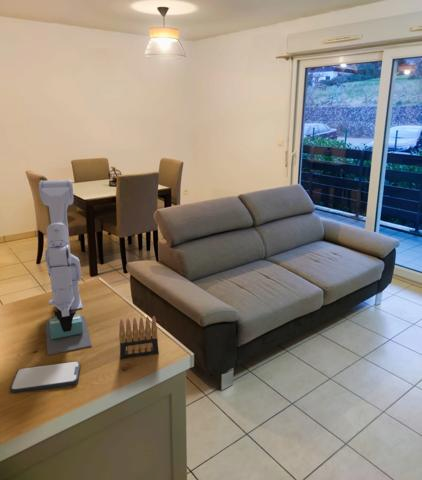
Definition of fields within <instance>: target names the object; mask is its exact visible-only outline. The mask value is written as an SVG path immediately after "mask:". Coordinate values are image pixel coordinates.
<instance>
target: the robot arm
mask: <svg viewBox="0 0 422 480" xmlns="http://www.w3.org/2000/svg"><path fill="white" fill-rule="evenodd" d="M38 192H39V198H40V200H41V202H42V203H43V206H47V207H48V210H49V217H50V218H49V219H50V224H49V225H48V226H47V228H46V245H47V247H46V249H45V252H44V256H45V257H44V258H45V263H46V267H47V272H48V274H49V279H50V287H51V293H52V294H51V295H52V296H51V297H52V299H49V300H48V304H49V305H51V306H52V305H53V306H55V308H56V309H57V310H54V315H55V318H57V319H58V320H59V321H60V324H61V327H62V329H63V331H64V332H67V331H71V328H72V320H73V317H74V315H76V310H79V309H82V308H83V304H82V299H81V296H80V289H79V282H80V281H81V280H82V267H81V261H80V259H79V257H77V256H76V255H74V254H72V253H71V245H70V234H69V224H68V207H69V206H71V205H73V204H74V201H75V200H74V186H73V181H72V180H71V179H59V180H58V179H56V180H53V179H52V180H43V179H42V180H39V182H38Z"/></svg>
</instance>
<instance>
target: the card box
mask: <svg viewBox="0 0 422 480" xmlns="http://www.w3.org/2000/svg"><path fill="white" fill-rule="evenodd" d="M81 316H82V315H81V313H75V315H74V317H73V320H72V328H71V331H67V332H64V331H63V329H62V327H61V324H60V321H59V320H58V319H57V318H56V317H55V318H49V319H48V322H49V324H50V333H51V339H56V338H61V337H66V336H71V335H76V334H81V333H83V327H82V320H81Z"/></svg>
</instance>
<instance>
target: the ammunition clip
mask: <svg viewBox="0 0 422 480" xmlns="http://www.w3.org/2000/svg"><path fill="white" fill-rule="evenodd" d="M132 320H133V321H132V324H131V321H130V319H129V318H127V320H126V323H125V324H124V320H123V319H120V320H119V335H118V336H119V357H120V358H119V359H120V360H125V359H133V358H139V357H146V356H153V355H159V353H160V352H159V351H160V350H159V342H158V327H157V319H156V316H155V315H153V316H152V319H151V320H150V317H149V316H146V318H145V326H144V319H143V317H142V316H141V317H140V318H139V323H138V322H137V319H136V317H134V318H133V319H132ZM131 325H132V327H131ZM138 325H139V326H138ZM125 329H126V330H125Z"/></svg>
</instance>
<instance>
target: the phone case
mask: <svg viewBox="0 0 422 480" xmlns="http://www.w3.org/2000/svg"><path fill="white" fill-rule="evenodd" d="M81 366H82V365H81V362H80V361H68V362H61V363H55V364H47V365H39V366H30V367H23V368H19V369H18V370H17V371H15V374H14V377H13V379H12V382H11V384H10V386H9V392H10V393H11V394H21V393H27V392H28V393H29V392H34V391H35V392H36V391H44V390H49V389H51V390H52V389H58V388H59V389H60V388H66V387H74V386H76V385H77V384H79V379H80V372H81Z"/></svg>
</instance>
